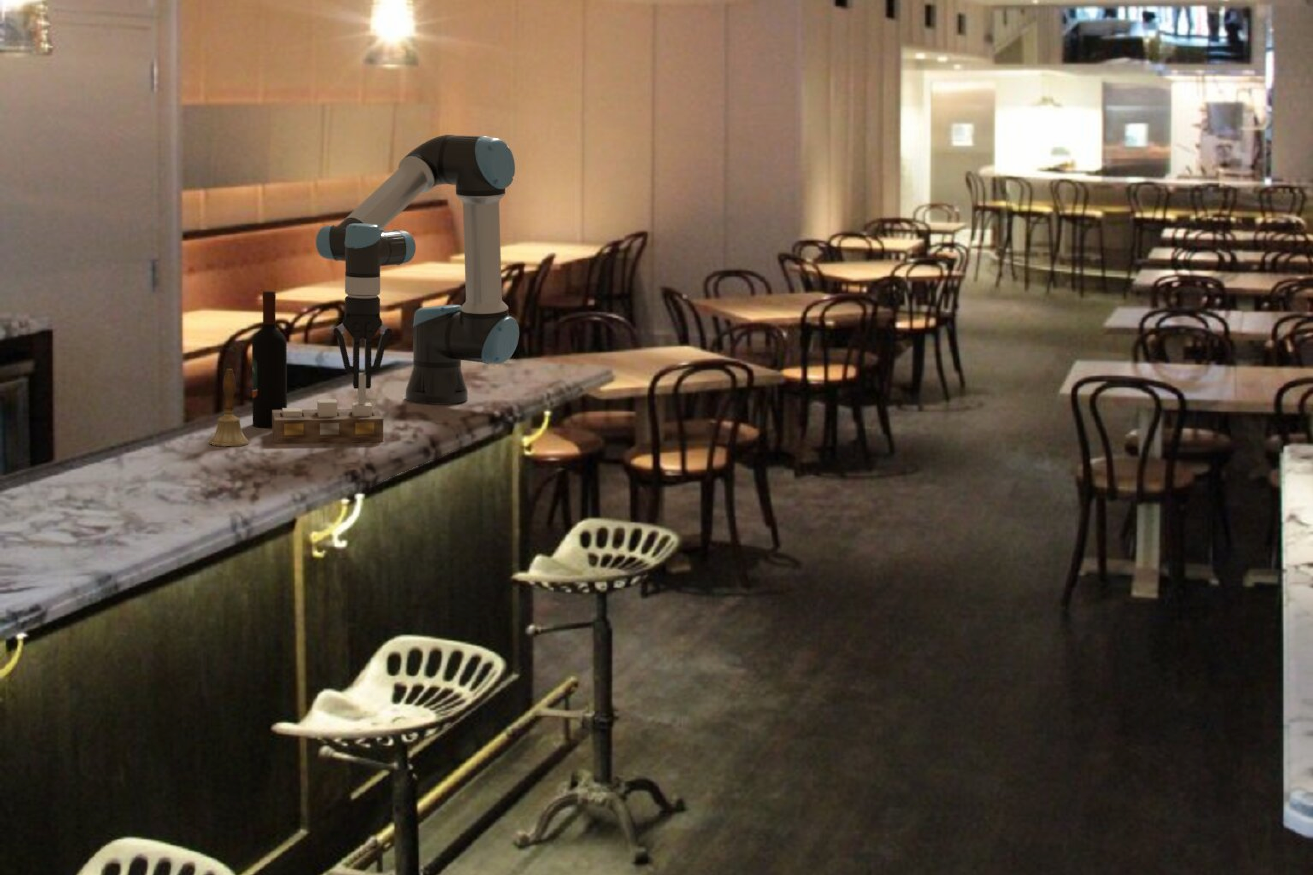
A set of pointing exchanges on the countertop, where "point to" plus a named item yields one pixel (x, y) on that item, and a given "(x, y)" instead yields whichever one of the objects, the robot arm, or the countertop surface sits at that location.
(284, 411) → the outer button
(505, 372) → the countertop surface
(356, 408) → the inner button
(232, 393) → the hand bell
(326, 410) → the middle button
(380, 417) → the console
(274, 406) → the wine bottle
